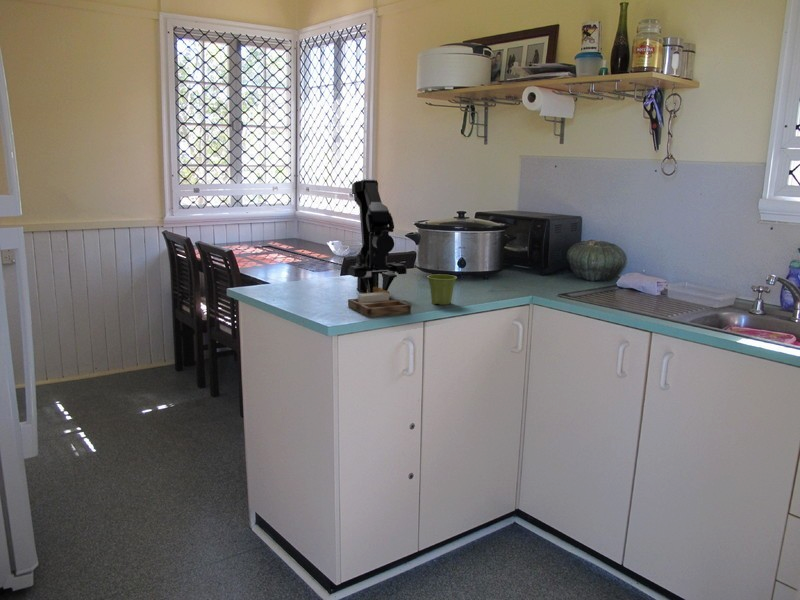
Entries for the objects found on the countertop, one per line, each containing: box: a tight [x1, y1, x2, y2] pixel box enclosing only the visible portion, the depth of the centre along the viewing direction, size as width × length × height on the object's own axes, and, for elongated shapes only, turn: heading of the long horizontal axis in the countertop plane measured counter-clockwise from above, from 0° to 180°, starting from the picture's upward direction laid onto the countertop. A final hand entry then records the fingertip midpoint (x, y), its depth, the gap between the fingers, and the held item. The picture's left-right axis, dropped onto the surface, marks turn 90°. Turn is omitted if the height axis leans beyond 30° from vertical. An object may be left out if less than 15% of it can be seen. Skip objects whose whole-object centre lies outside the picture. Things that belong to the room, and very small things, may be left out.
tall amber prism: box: [366, 286, 390, 295], centre depth 218 cm, size 9×4×4 cm, turn 29°
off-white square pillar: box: [357, 292, 390, 303], centre depth 205 cm, size 9×4×4 cm, turn 118°
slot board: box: [347, 295, 412, 318], centre depth 202 cm, size 14×14×2 cm
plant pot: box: [426, 273, 458, 306], centre depth 214 cm, size 9×9×9 cm
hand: (377, 296), depth 218 cm, fingers open, 4 cm apart
